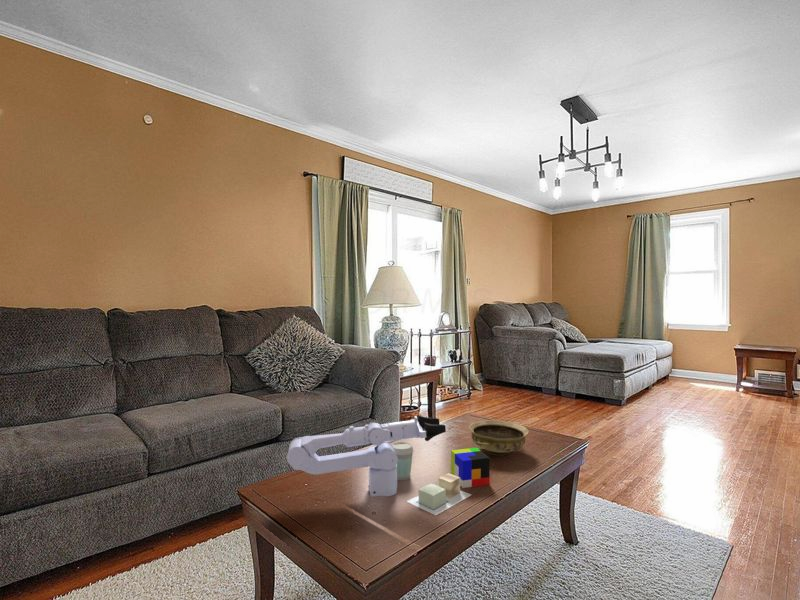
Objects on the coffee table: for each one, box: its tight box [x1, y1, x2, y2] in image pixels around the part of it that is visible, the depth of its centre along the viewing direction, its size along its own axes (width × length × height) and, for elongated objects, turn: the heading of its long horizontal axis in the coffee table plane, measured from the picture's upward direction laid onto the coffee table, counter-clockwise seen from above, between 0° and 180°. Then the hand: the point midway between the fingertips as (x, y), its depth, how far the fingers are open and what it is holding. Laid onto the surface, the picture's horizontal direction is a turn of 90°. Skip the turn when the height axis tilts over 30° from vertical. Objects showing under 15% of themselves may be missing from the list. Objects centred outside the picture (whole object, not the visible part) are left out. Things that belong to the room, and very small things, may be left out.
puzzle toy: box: [450, 447, 491, 489], centre depth 150 cm, size 10×10×10 cm
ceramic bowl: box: [468, 419, 529, 456], centre depth 178 cm, size 30×24×10 cm
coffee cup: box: [391, 441, 415, 481], centre depth 152 cm, size 8×8×12 cm
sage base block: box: [418, 483, 446, 509], centre depth 134 cm, size 6×6×4 cm
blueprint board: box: [406, 484, 472, 516], centre depth 136 cm, size 18×12×1 cm, turn 135°
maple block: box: [438, 472, 461, 498], centre depth 140 cm, size 5×5×5 cm
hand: (442, 424), depth 144 cm, fingers open, 7 cm apart
